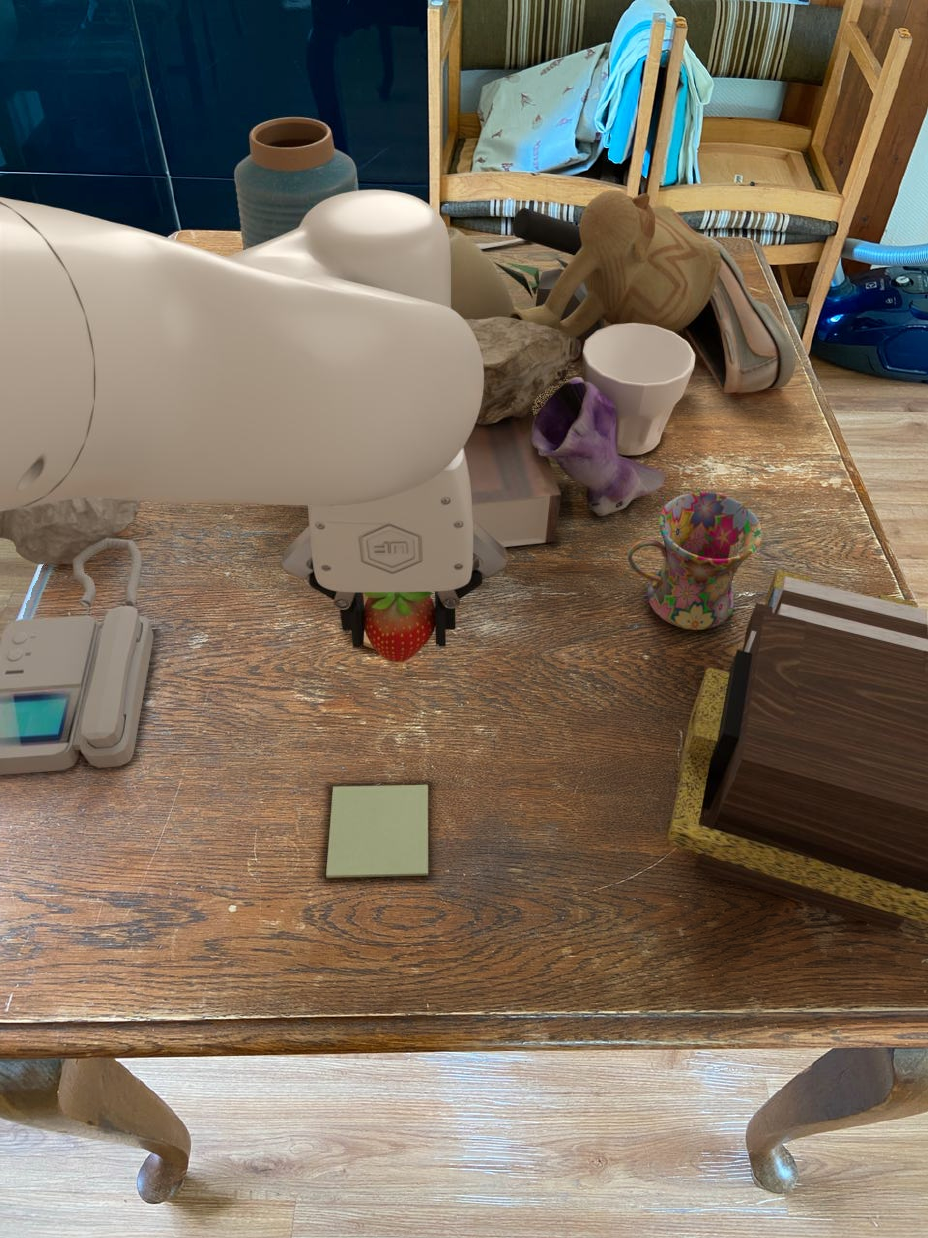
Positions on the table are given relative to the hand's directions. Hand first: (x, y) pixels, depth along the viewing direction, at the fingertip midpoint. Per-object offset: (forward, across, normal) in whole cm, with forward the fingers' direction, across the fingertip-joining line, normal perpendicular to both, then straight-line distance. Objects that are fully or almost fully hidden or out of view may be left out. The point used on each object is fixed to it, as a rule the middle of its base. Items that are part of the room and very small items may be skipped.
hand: (400, 630), depth 65 cm
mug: (+17, +26, +18) cm, 36 cm away
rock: (+11, -1, +47) cm, 48 cm away
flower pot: (+3, +1, +66) cm, 66 cm away
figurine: (+7, +15, +35) cm, 38 cm away
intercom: (+15, -32, +25) cm, 43 cm away
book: (+17, +1, +39) cm, 43 cm away
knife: (+17, +13, +91) cm, 93 cm away
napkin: (+17, -2, -7) cm, 19 cm away
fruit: (+3, 0, 0) cm, 3 cm away
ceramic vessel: (+9, +33, +67) cm, 75 cm away
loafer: (+12, +42, +66) cm, 80 cm away
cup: (+17, +25, +45) cm, 54 cm away
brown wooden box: (+11, +39, +13) cm, 43 cm away
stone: (+6, -32, +33) cm, 46 cm away
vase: (+17, -13, +65) cm, 68 cm away
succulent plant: (+17, +18, +72) cm, 76 cm away
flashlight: (+8, +24, +80) cm, 83 cm away
